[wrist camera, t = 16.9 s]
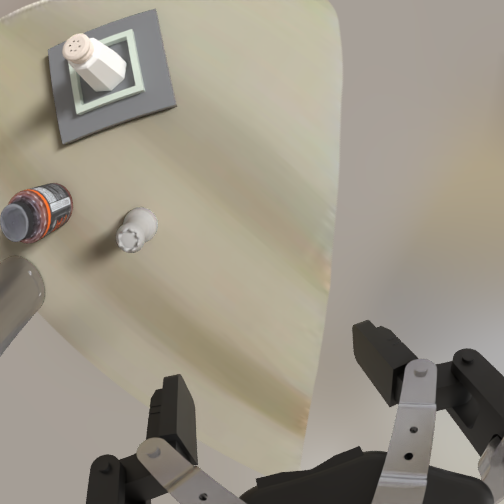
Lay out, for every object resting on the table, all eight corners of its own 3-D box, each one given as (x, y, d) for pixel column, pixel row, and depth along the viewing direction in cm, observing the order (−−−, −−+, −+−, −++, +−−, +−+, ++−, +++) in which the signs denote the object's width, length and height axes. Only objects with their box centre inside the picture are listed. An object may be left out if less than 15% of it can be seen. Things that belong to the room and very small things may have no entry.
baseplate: (67, 144, 33) (58, 144, 31) (52, 52, 28) (44, 47, 26) (177, 106, 34) (175, 102, 32) (157, 13, 30) (154, 4, 27)
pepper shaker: (82, 64, 29) (45, 38, 19) (121, 46, 29) (96, 11, 19) (92, 100, 31) (54, 83, 20) (132, 82, 31) (107, 56, 21)
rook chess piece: (118, 229, 38) (101, 247, 30) (135, 199, 37) (119, 211, 29) (147, 247, 39) (136, 269, 32) (165, 217, 38) (156, 233, 31)
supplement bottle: (55, 235, 36) (15, 263, 26) (30, 203, 34) (-16, 221, 24) (83, 206, 36) (44, 226, 25) (57, 172, 34) (12, 182, 23)
